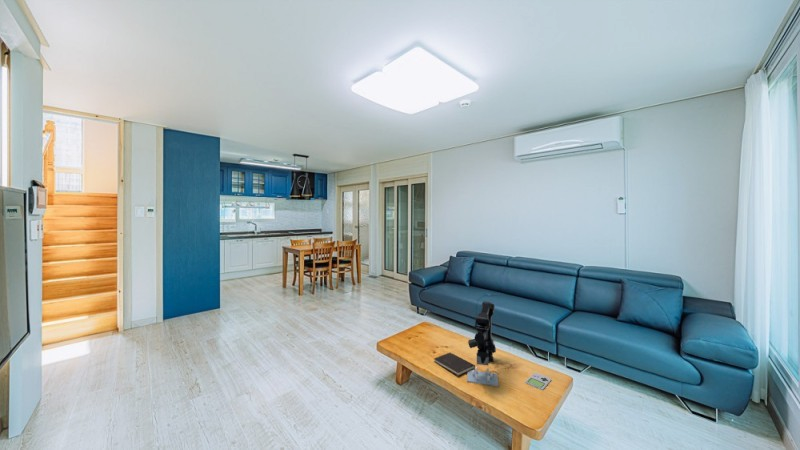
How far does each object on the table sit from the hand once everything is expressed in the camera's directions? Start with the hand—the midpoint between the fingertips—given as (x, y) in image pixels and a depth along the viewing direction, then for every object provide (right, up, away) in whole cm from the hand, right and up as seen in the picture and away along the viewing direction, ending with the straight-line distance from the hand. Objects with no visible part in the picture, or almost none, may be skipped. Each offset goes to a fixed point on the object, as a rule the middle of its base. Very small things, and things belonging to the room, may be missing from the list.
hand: (482, 361), depth 172 cm
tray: (0, -11, 0) cm, 11 cm away
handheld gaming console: (+33, -12, -3) cm, 35 cm away
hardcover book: (-15, -10, +15) cm, 24 cm away
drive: (0, -1, 0) cm, 1 cm away
